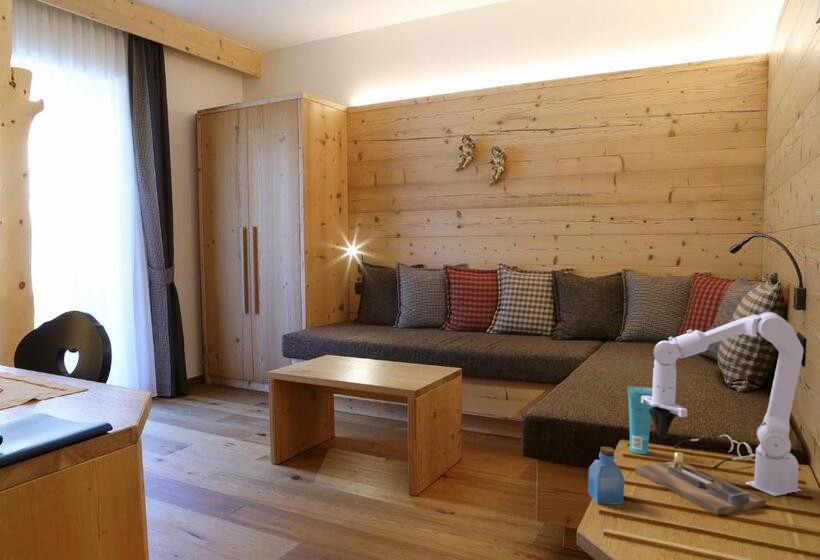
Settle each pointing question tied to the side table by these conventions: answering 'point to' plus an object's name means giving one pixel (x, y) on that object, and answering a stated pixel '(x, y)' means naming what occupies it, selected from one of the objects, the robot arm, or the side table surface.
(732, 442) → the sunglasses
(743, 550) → the side table surface
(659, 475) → the door board
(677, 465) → the bolt
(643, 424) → the tube
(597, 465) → the perfume bottle
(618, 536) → the side table surface
